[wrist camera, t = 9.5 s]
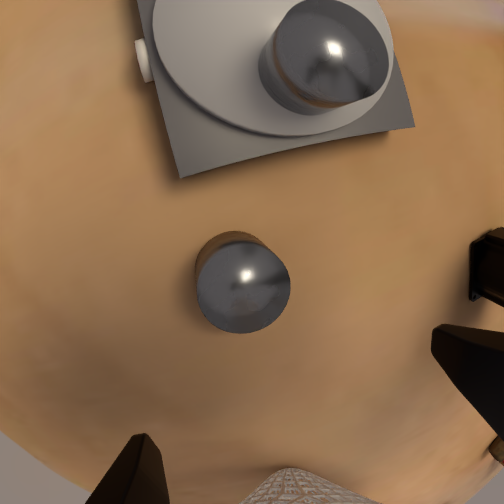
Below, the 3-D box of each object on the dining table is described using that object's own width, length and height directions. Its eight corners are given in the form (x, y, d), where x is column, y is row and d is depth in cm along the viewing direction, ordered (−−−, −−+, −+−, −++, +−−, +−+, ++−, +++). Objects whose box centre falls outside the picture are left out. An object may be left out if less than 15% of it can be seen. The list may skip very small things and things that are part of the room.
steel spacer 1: (279, 291, 21) (298, 316, 17) (208, 313, 20) (213, 344, 17) (261, 221, 20) (278, 233, 16) (185, 244, 19) (184, 262, 15)
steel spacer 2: (357, 109, 15) (401, 96, 11) (272, 123, 14) (300, 107, 10) (332, 30, 13) (368, 1, 10) (247, 36, 13) (265, -1, 9)
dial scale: (389, 130, 20) (424, 125, 16) (170, 181, 18) (165, 183, 14) (330, -35, 15) (352, -59, 11) (125, -13, 13) (116, -44, 10)
